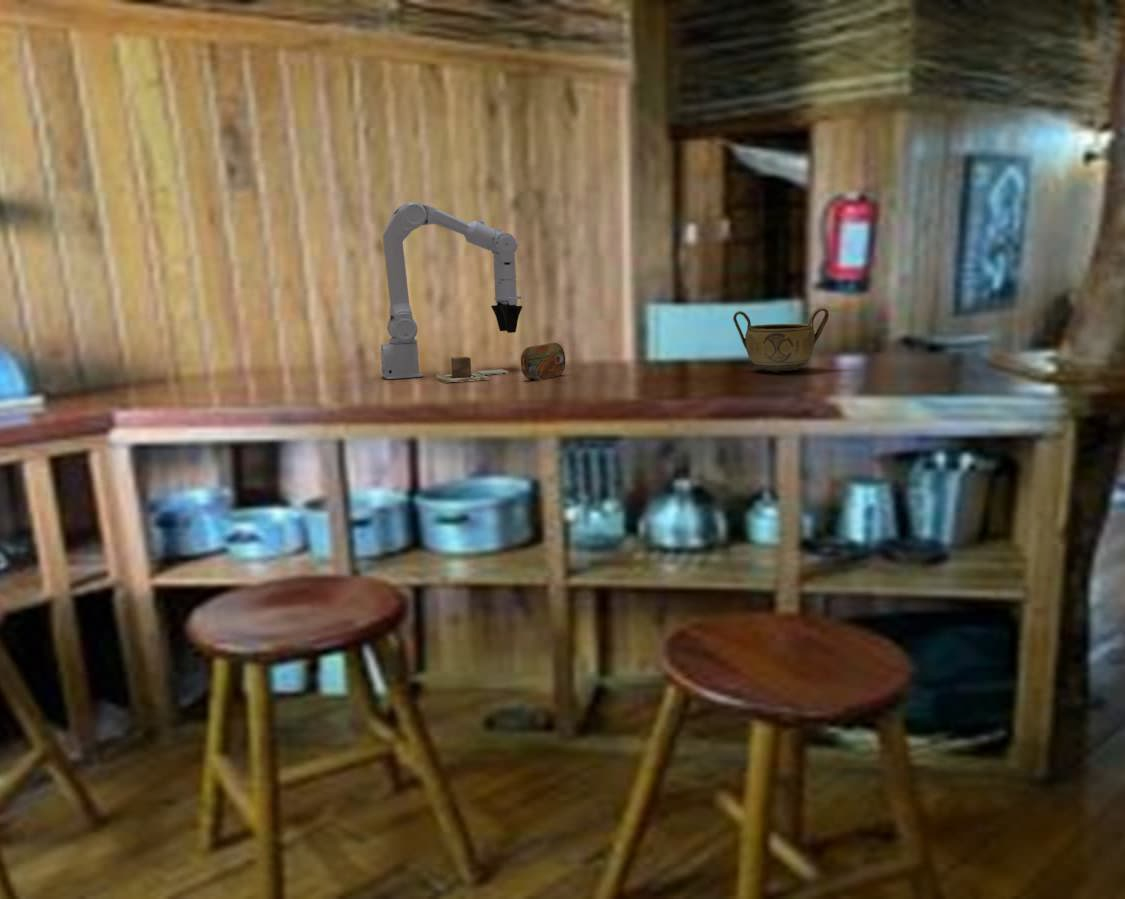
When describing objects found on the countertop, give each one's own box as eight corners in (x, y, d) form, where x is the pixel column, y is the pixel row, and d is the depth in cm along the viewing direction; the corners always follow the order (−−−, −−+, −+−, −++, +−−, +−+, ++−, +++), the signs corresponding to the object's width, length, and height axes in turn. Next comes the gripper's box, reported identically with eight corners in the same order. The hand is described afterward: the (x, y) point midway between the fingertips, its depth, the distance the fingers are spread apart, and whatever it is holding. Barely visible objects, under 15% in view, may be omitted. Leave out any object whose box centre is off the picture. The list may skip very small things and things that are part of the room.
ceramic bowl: (825, 366, 244) (825, 305, 241) (830, 374, 228) (831, 309, 225) (733, 368, 248) (733, 308, 245) (732, 376, 232) (732, 311, 229)
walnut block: (455, 381, 242) (454, 359, 241) (452, 379, 246) (451, 357, 245) (471, 380, 243) (470, 358, 242) (467, 378, 247) (466, 356, 246)
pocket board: (445, 383, 237) (445, 380, 237) (435, 378, 249) (435, 375, 248) (489, 380, 241) (489, 377, 241) (477, 375, 252) (477, 372, 252)
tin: (529, 382, 235) (527, 346, 234) (519, 381, 237) (517, 346, 236) (567, 375, 247) (566, 341, 245) (557, 374, 249) (556, 341, 247)
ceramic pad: (482, 375, 251) (482, 373, 251) (475, 373, 258) (475, 371, 258) (508, 373, 253) (508, 371, 253) (501, 371, 260) (501, 369, 260)
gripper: (527, 279, 254) (529, 332, 256) (512, 279, 267) (514, 329, 270) (501, 280, 252) (503, 333, 254) (487, 280, 265) (489, 330, 268)
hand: (507, 331), depth 262 cm, fingers open, 7 cm apart
